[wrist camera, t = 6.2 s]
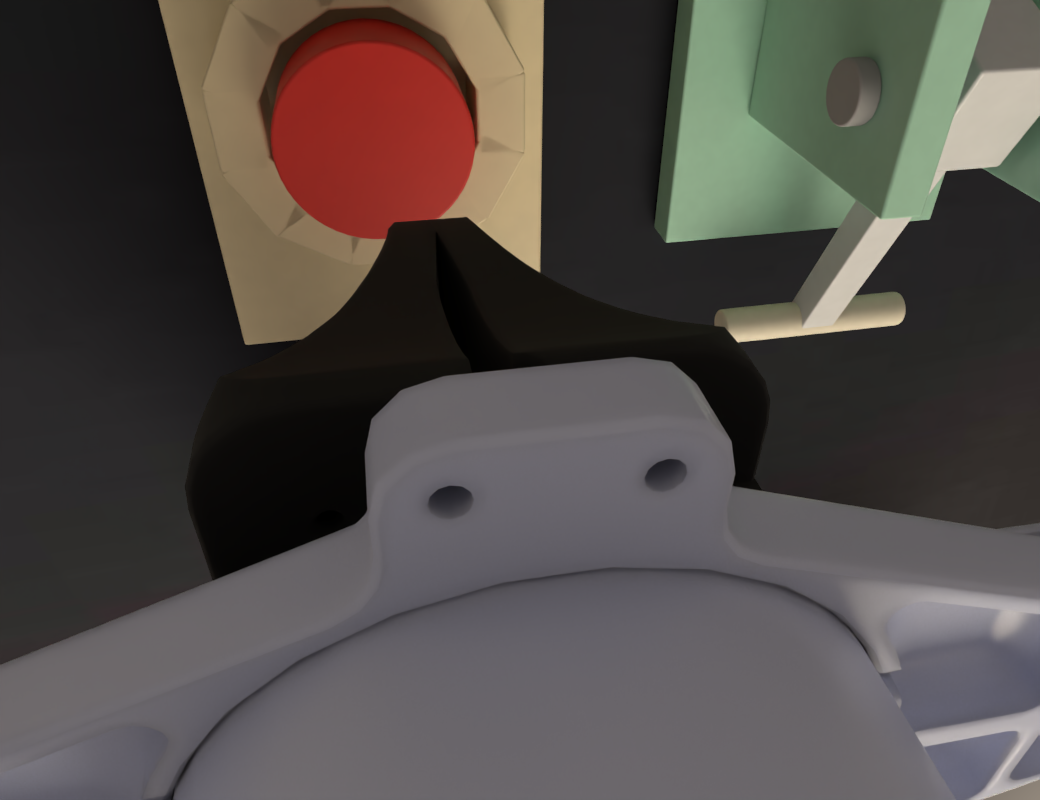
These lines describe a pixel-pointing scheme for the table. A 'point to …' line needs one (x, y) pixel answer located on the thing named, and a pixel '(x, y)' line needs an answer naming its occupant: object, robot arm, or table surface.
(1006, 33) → the lever
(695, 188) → the bracket
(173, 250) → the table surface
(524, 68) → the button housing
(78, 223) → the table surface
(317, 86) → the red button
